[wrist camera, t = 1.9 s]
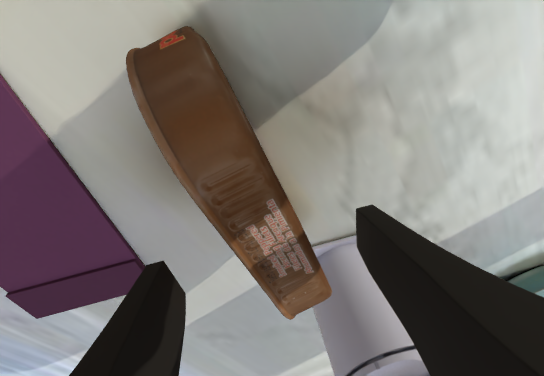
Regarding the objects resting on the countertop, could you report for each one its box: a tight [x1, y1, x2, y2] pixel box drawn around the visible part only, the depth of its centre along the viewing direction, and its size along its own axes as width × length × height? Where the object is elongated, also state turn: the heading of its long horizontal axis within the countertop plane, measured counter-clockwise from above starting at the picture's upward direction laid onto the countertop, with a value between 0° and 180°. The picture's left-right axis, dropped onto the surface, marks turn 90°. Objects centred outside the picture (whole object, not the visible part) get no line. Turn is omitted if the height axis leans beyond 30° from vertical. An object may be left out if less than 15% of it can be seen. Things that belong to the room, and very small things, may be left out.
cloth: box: [0, 75, 145, 319], centre depth 16 cm, size 10×18×1 cm, turn 11°
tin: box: [126, 26, 332, 320], centre depth 13 cm, size 15×3×8 cm, turn 23°
